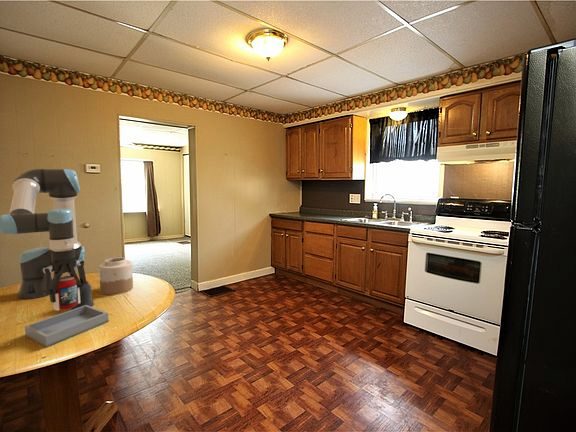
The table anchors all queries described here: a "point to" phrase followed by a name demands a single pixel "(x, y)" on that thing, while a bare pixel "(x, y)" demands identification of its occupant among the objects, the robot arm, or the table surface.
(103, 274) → the vase
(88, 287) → the mug
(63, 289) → the beverage can
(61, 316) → the bin
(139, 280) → the table surface
